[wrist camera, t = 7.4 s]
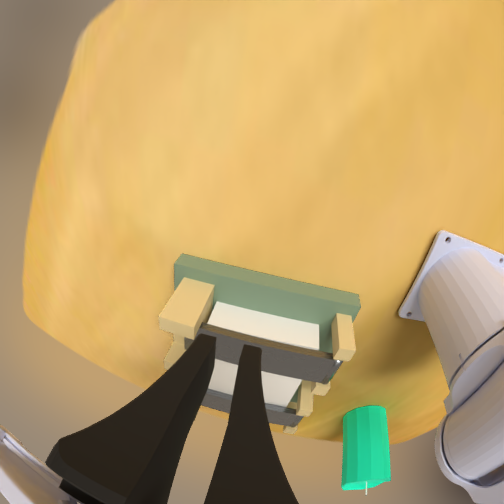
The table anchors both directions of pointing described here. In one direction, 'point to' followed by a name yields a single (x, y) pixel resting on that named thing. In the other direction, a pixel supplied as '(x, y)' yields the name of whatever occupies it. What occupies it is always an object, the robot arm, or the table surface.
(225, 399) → the strap far
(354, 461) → the candle
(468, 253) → the robot arm
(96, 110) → the table surface
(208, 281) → the board
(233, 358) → the strap near
